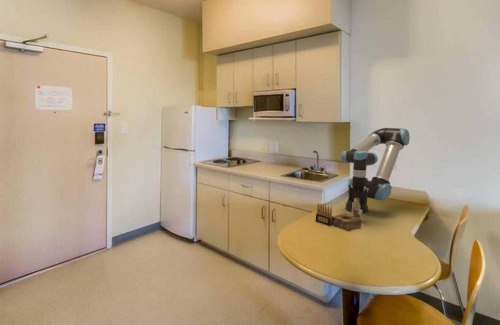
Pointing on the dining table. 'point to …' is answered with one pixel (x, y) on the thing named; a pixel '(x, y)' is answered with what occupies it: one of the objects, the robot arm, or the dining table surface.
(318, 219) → the ammunition clip
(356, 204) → the peg
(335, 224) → the socket block
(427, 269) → the dining table surface
